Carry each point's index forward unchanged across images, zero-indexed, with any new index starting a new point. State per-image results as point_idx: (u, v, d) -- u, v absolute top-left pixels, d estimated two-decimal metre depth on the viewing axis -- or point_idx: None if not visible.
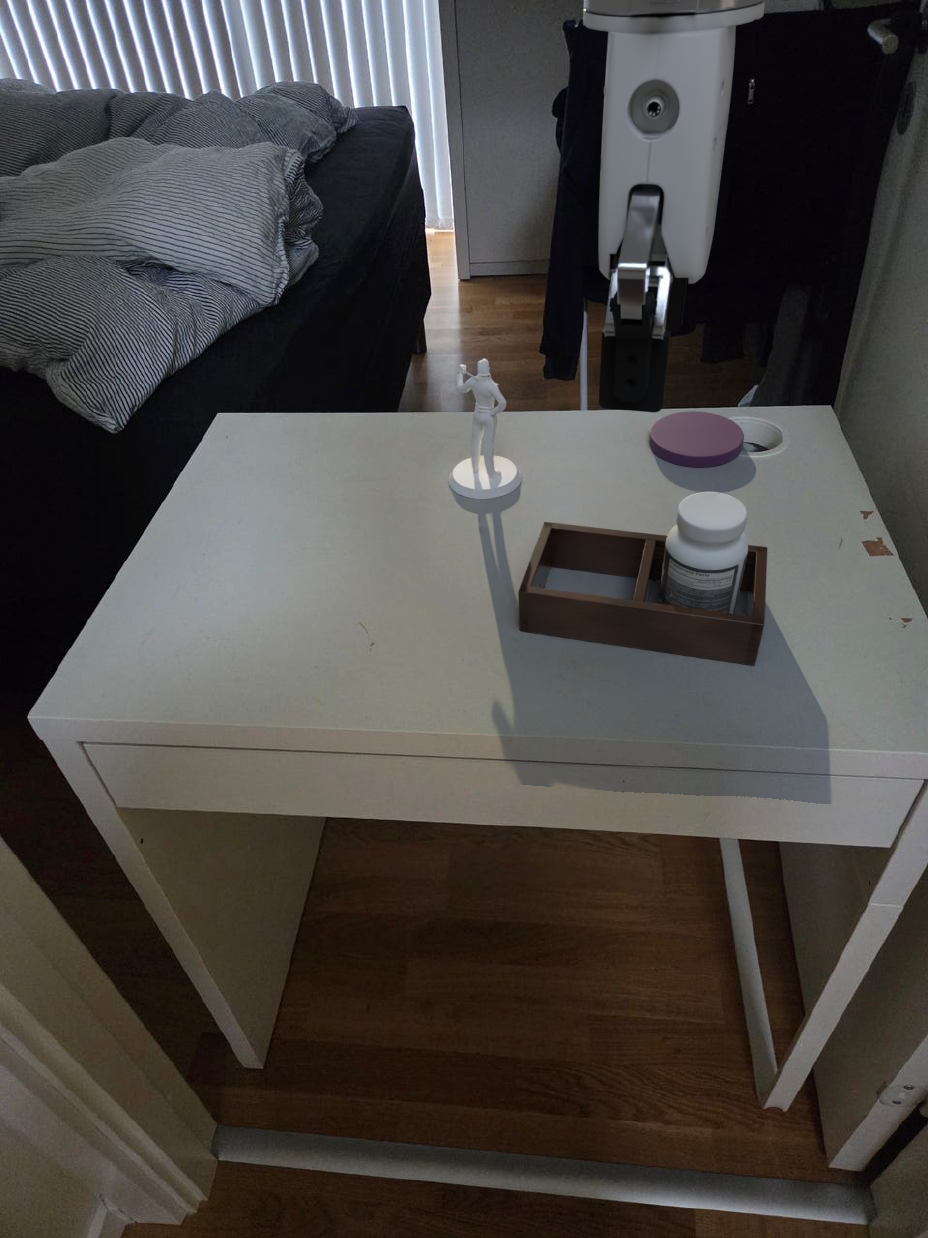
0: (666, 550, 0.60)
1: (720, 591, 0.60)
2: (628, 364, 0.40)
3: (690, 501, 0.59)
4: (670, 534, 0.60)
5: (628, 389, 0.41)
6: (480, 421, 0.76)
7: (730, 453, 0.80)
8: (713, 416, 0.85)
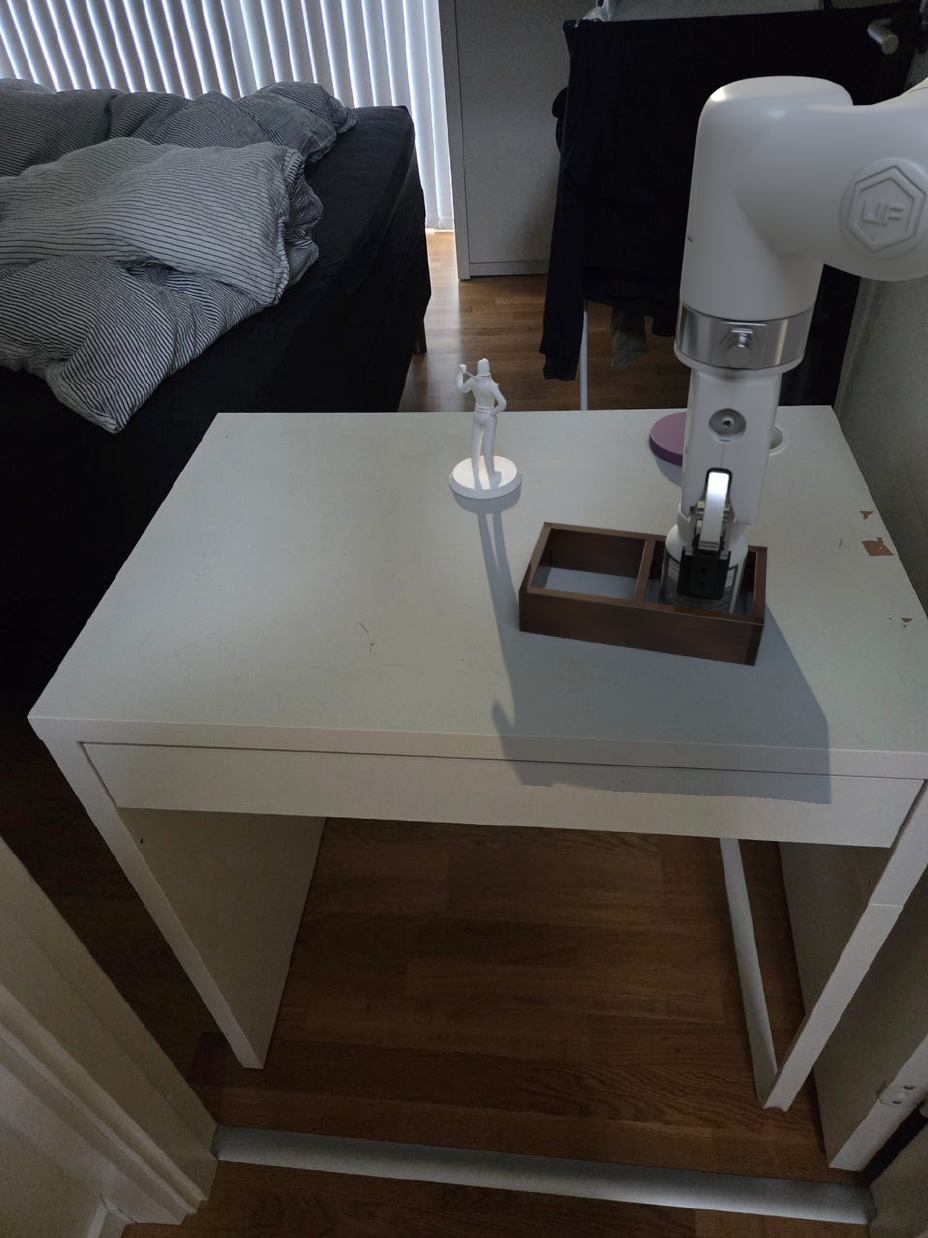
0: (666, 550, 0.60)
1: None
2: (700, 572, 0.57)
3: None
4: (670, 534, 0.60)
5: (699, 587, 0.58)
6: (480, 421, 0.76)
7: None
8: None
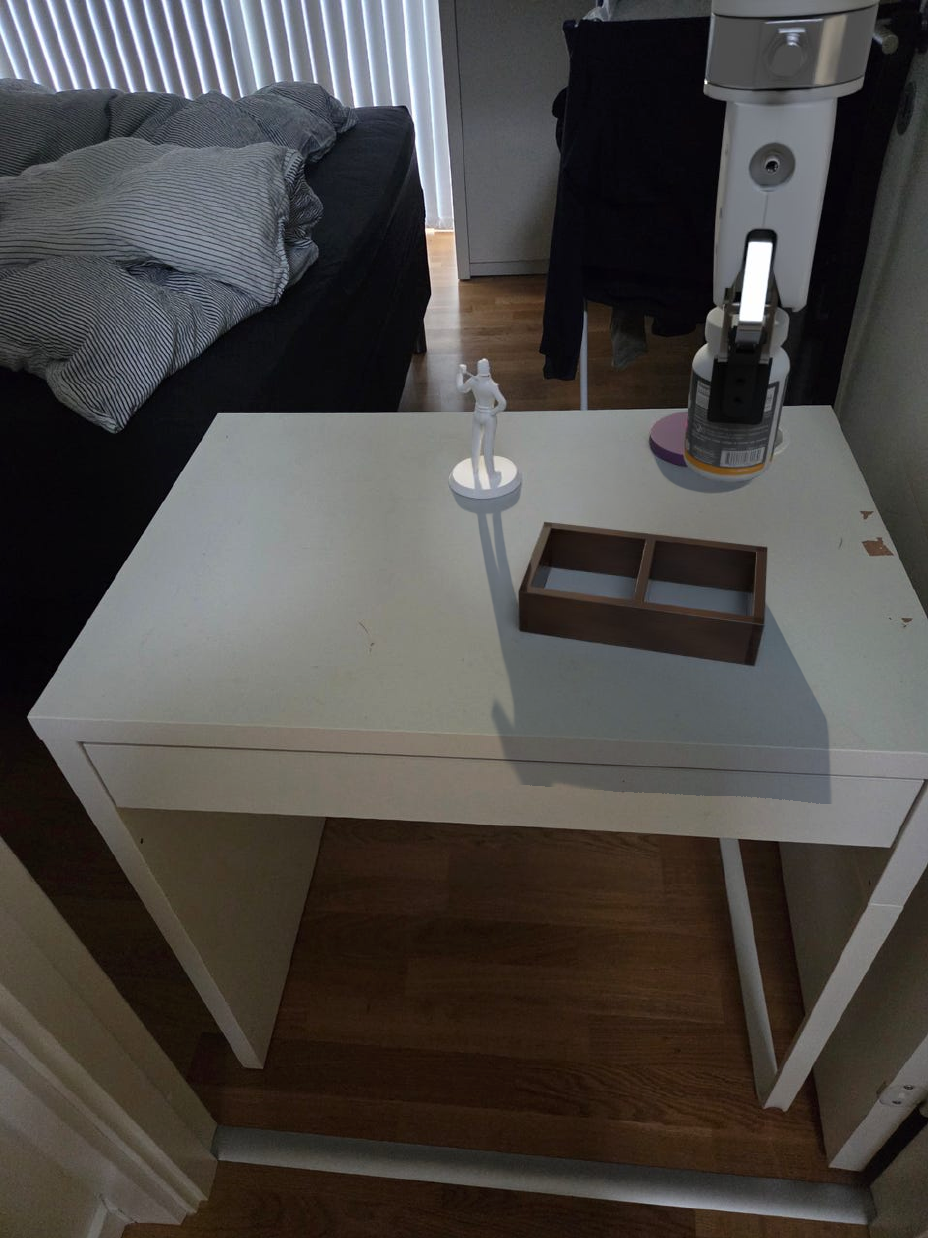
0: (693, 372, 0.52)
1: None
2: (736, 384, 0.48)
3: (721, 310, 0.50)
4: (697, 354, 0.52)
5: (735, 406, 0.49)
6: (480, 421, 0.76)
7: None
8: None
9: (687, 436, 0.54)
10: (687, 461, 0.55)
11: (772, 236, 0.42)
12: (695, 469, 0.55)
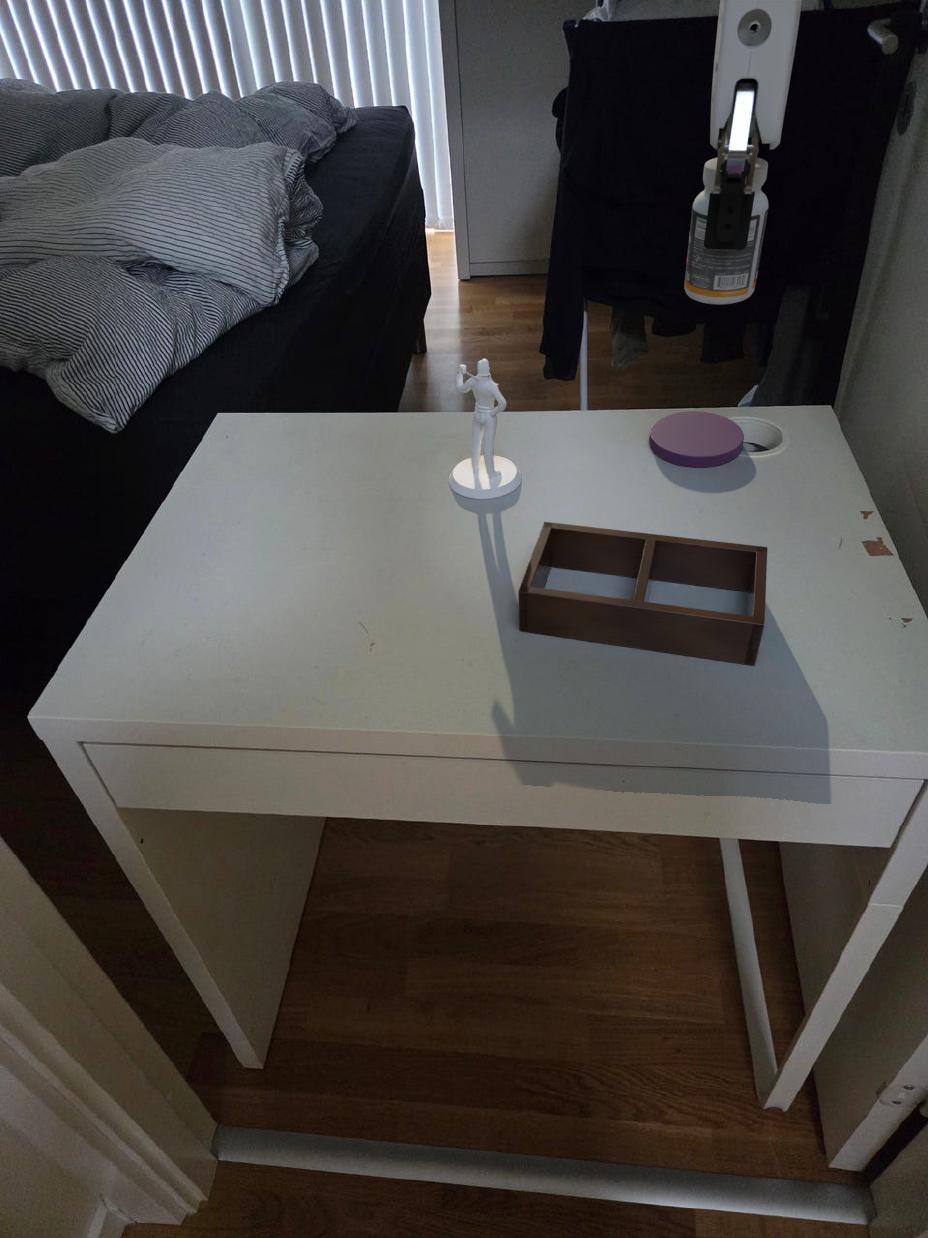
0: (693, 211, 0.66)
1: None
2: (727, 213, 0.63)
3: (715, 160, 0.65)
4: (697, 197, 0.66)
5: (725, 231, 0.63)
6: (480, 421, 0.76)
7: (730, 453, 0.80)
8: (713, 416, 0.85)
9: (687, 268, 0.69)
10: (687, 290, 0.70)
11: (754, 85, 0.57)
12: (693, 295, 0.69)
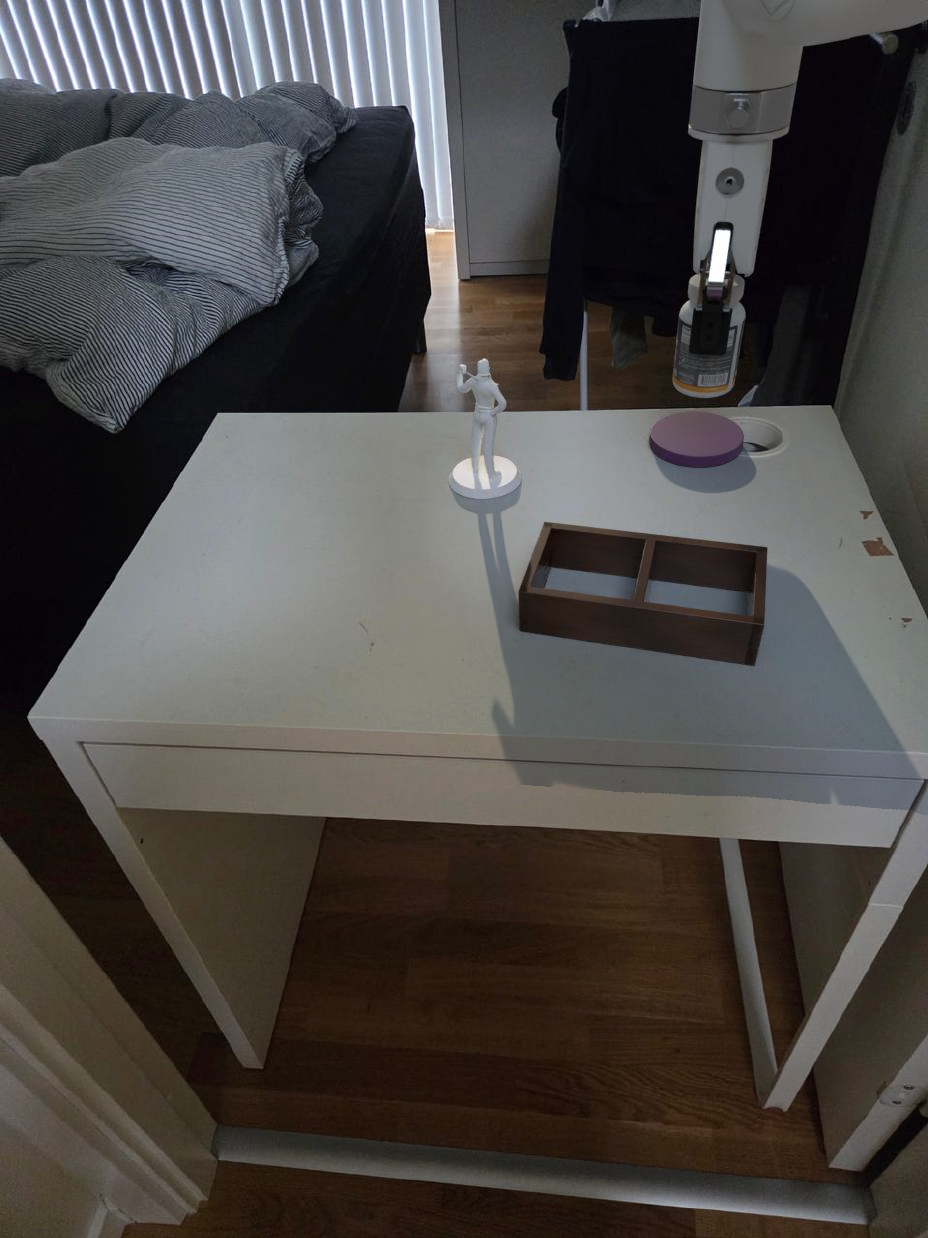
0: (679, 319, 0.75)
1: None
2: (708, 326, 0.72)
3: (699, 276, 0.74)
4: (683, 306, 0.75)
5: (707, 341, 0.72)
6: (480, 421, 0.76)
7: (730, 453, 0.80)
8: (713, 416, 0.85)
9: (675, 365, 0.78)
10: (674, 384, 0.79)
11: (730, 226, 0.66)
12: (680, 389, 0.78)
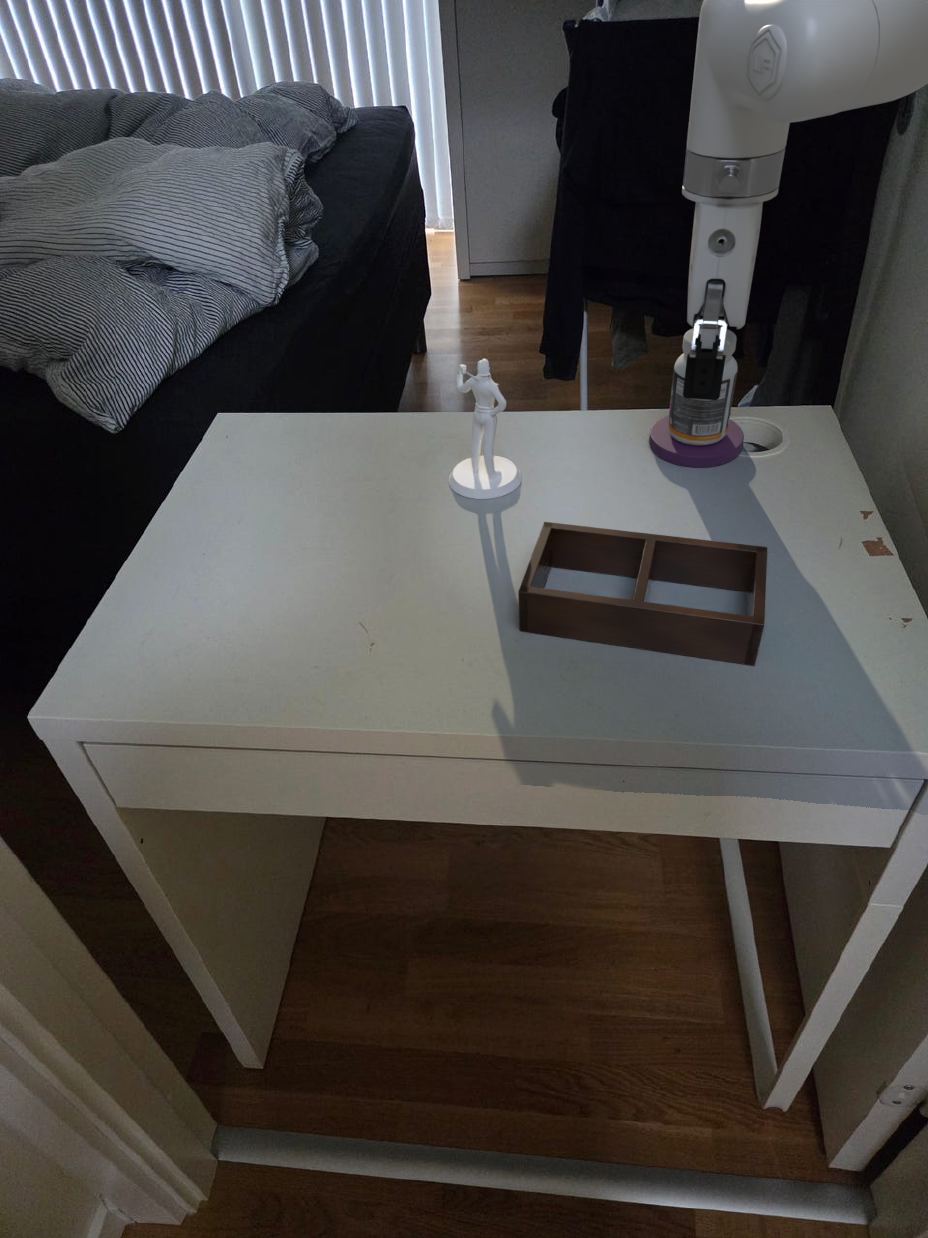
0: (674, 372, 0.78)
1: (716, 401, 0.78)
2: (702, 372, 0.73)
3: None
4: (677, 360, 0.78)
5: (701, 387, 0.74)
6: (480, 421, 0.76)
7: (730, 453, 0.80)
8: None
9: (670, 414, 0.81)
10: (670, 431, 0.82)
11: None
12: (675, 437, 0.81)
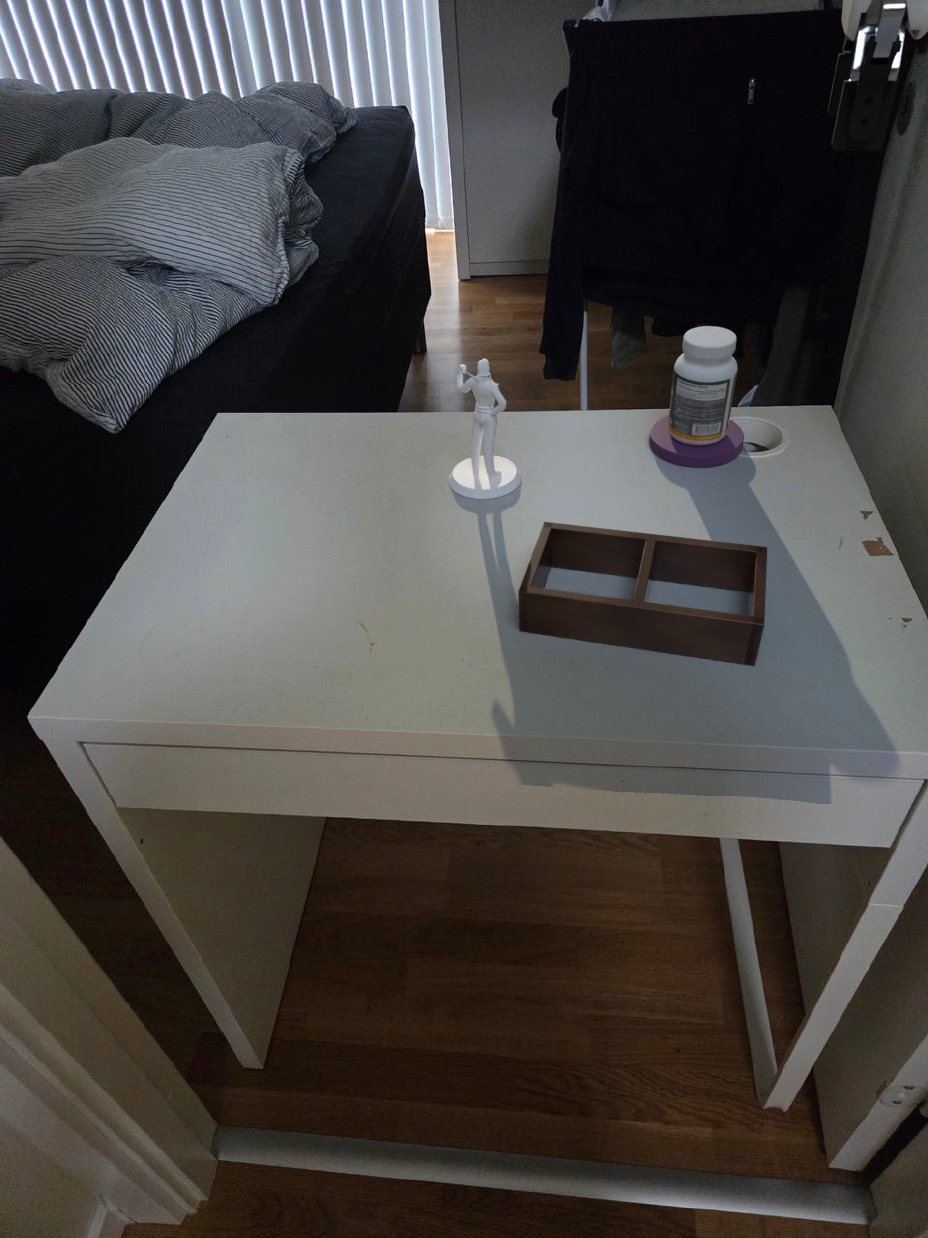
0: (674, 372, 0.78)
1: (716, 401, 0.78)
2: (864, 105, 0.54)
3: (693, 331, 0.77)
4: (677, 360, 0.78)
5: (860, 128, 0.55)
6: (480, 421, 0.76)
7: (730, 453, 0.80)
8: None
9: (670, 414, 0.81)
10: (670, 431, 0.82)
11: None
12: (675, 437, 0.81)
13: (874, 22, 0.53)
